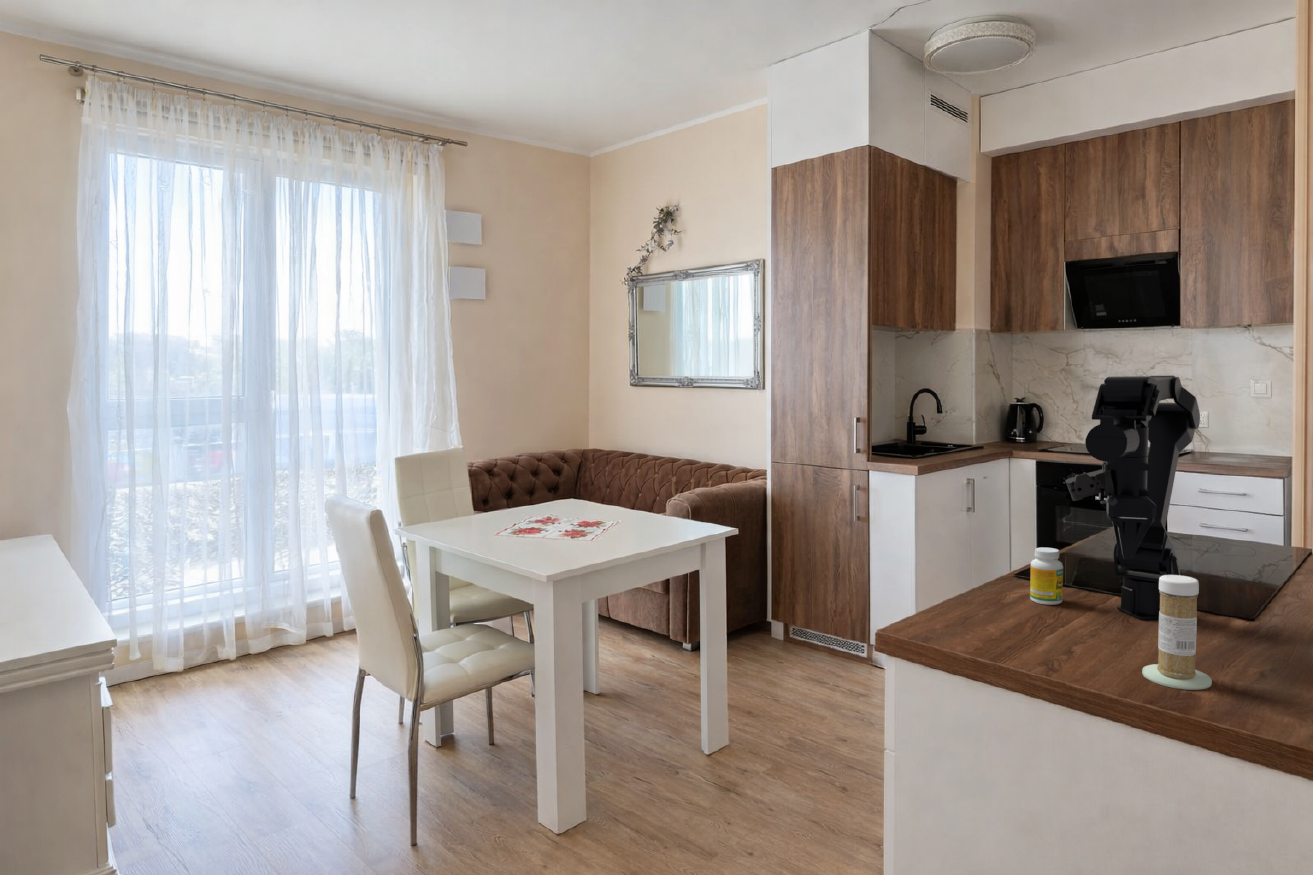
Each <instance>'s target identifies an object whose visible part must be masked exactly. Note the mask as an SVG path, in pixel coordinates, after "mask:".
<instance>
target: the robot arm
mask: <svg viewBox="0 0 1313 875" xmlns="http://www.w3.org/2000/svg"><path fill="white" fill-rule="evenodd" d="M1167 399H1168V400H1169V399H1170V400H1173V401H1174V402H1161V401H1165V400H1167ZM1094 402H1095V403H1094V405H1093V409H1092V410H1093V411H1092V414H1091V420H1092V421H1093V420H1094V421H1097V420H1098V421H1099V424H1097V425H1095V426H1094V427H1092V428H1091V429H1090V430H1089V432H1087V435H1086V437H1085V441H1084V443H1085V448H1086V451H1087V452H1088V454H1089V455H1090V456H1091V457H1093V458H1094V459H1096V460H1097V461H1101V462H1102V466H1101V467H1102V468H1101V469H1098V470H1093V471H1091V472H1085V471H1083V473H1081V474H1075V476H1072V477H1069V478H1067V479H1064V480H1065V484H1066V487H1067V489H1068V491H1069V493H1070V497H1071V499H1072V501H1073V502H1077V501H1081V500H1083V499H1084V498H1086V497H1092V496H1094V495H1098V499H1099V502H1100V505H1101V506H1102V507H1103V508H1104V509H1105V510H1106V516H1107V518H1108V519H1109V520H1110V521H1111V522H1112V527H1113V533H1114V537H1115V541H1116V543H1115V544H1114V547H1113V563H1114V573H1115V578H1123V584H1122V586H1121V588H1120V605H1117V606H1116V609H1117V610H1118V611H1121V612H1124V613H1125V614H1128V615H1129V616H1131V617H1132V616H1133V617H1134V618H1137V619H1139V620H1154V619H1155V620H1157V619H1158V620H1159V611H1160V592H1159V591H1160V590H1159V578H1160V577H1161V576H1164V575H1180V576H1181V570H1180V565H1179V560H1178V557H1177V555H1176V552H1175V550H1174V543H1173V541H1172V540H1171V538H1170V536H1169V533H1168V532H1167V530H1166V525H1167V521H1168V520H1167V519H1168V515H1169V509H1170V503H1171V497H1172V493H1173V488H1174V483H1175V477H1176V472H1177V467H1178V461H1179V457H1180V456H1179V455H1180V453H1181V452H1182V451H1184V450H1185V449H1186V447H1188V446H1189V445H1190V444H1191V443H1193V440H1194V435H1195V431H1196V430H1198V429H1199V427H1200V423H1201V414H1200V413H1201V412H1200V409H1199V408H1200V407H1199V404H1198V400H1197V397H1196V396H1195V395H1193V394H1192V393H1191V392H1190V391H1188V390H1187V389H1186V388H1185V387H1183V386H1182V383H1181V379H1180V377H1179V376H1175V375H1149V376H1148V375H1146V376H1140V375H1139V376H1137V375H1135V376H1129V375H1128V376H1107V377H1106V378H1105V379H1104V380H1103V383H1101V384H1100V385H1099V387H1098V391H1097V395H1096V399H1095V401H1094Z"/></svg>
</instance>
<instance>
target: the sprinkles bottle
mask: <svg viewBox="0 0 1313 875" xmlns="http://www.w3.org/2000/svg"><path fill="white" fill-rule="evenodd" d="M1199 587H1200V583H1199V580H1198V579H1196V578H1195V577H1192V576H1187V575H1181V574H1180V575H1164V576H1161V577H1160V578H1159V590H1160V591H1159V592H1160V611H1159V619H1158V640H1157V641H1158V642H1157V644H1158V646H1157V647H1158V659H1157V660H1158V661H1157V662H1158V663H1157V664H1158V667H1157V670H1158V671H1159V672H1160V673H1162V674H1164V675H1166V676H1169V677H1173V678H1179V679H1189V678H1193V677H1195V675H1196V672H1195V670H1196V653H1197V652H1196V651H1197V631H1198V630H1197V627H1198V625H1197V624H1198V623H1197V622H1198V614H1197V612H1198V610H1197V609H1198V607H1197V606H1198V603H1197V601H1198V600H1197V598H1198V595H1199V590H1200V588H1199Z"/></svg>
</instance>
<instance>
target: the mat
mask: <svg viewBox="0 0 1313 875" xmlns="http://www.w3.org/2000/svg"><path fill="white" fill-rule="evenodd" d="M1157 667H1158V663H1157V664H1156V663H1155V664H1148V665H1145V666H1143V668H1142V672H1141V673H1142V676H1143V677H1144V678H1145V679H1147V680H1149V681H1150V682H1152V683H1154V684H1158V685H1160V686H1164V687H1167V688H1168V687H1169V688H1172V689H1178V690H1186V691H1187V690H1188V691H1200V690H1206V689H1209V688H1210V687H1211V686H1213V685H1212V684H1213V683H1212V682H1213V679H1212V677H1211V676H1209V675H1208V674H1206V673H1205V672H1203V671H1200V670H1197V669H1195V672H1196V675H1195V677H1193V678H1189V679H1179V678H1173V677H1169V676H1166V675H1164V674H1162V673H1160V672H1159V671H1158V670H1157Z"/></svg>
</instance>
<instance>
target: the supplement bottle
mask: <svg viewBox="0 0 1313 875" xmlns="http://www.w3.org/2000/svg"><path fill="white" fill-rule="evenodd" d="M1034 549H1035V550H1034V559H1032V560H1031V562H1030V576H1029V577H1030V581H1029V582H1030V585H1029V586H1030V588H1029V589H1030V591H1029V598H1030V601H1032V602H1035V603H1037V604H1040V605H1047V606H1048V605H1051V606H1053V605H1054V606H1055V605H1059V604H1062V602H1063V595H1064V594H1063V593H1064V592H1063V590H1064V588H1063V582H1064V566H1063V562H1061V561H1060V560H1058V559H1059V558H1060V549H1058V548H1053V547H1042V546H1041V547H1036V548H1034Z"/></svg>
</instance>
